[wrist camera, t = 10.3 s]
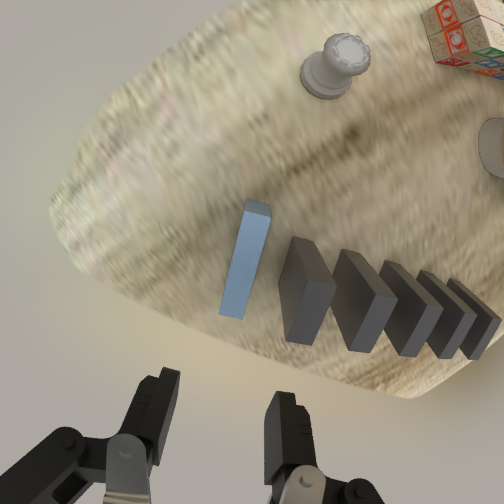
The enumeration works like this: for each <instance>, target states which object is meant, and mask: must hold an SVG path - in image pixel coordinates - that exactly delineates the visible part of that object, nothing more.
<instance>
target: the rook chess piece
mask: <svg viewBox="0 0 504 504" xmlns="http://www.w3.org/2000/svg"><path fill="white" fill-rule="evenodd" d="M361 40H362V38H360V37H359V36H357V35H356V36H355V37H354V36H353V35H349V33H341V34H335V35H333V36H331V37H329V38H328V39H327V41H326V42H325V44H324V51H320V52H315V53H313V54H312V55H310V56H309V57H308V58H307V59H306V60H305V61H304V63H303V64H302V66H301V74H300V76H301V79H302V82H303V85H304V86H305V87H306V88H307V89H308V90H309V91H310V92H311V93H312V94H314V95H316V96H318V97H320V98H326V99H332V98H337V97H339V96H341V95H342V94H343V93H345V92H346V91H347V90H348V88H349V87H350V85H351V83H352V76H354V75H360V74H362V73H363V72H365V71H367V69H368V67H369V65H370V54H369V52H370V49H369V47H368V45H366V46H365V45H364V43H363V42H362V41H361Z"/></svg>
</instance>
